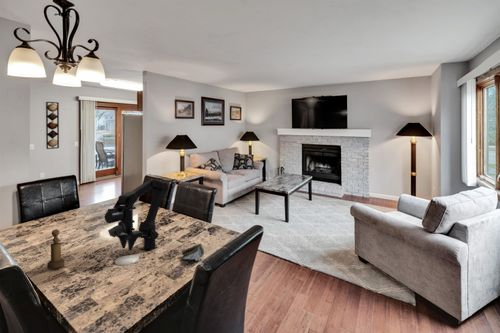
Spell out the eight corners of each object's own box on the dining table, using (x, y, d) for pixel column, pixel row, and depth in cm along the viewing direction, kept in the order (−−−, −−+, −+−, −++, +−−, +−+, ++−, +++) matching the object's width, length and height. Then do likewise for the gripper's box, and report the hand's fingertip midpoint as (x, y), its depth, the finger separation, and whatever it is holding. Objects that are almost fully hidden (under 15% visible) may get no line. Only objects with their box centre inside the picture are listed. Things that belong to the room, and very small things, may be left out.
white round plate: (110, 262, 126) (110, 260, 126) (131, 255, 135) (131, 253, 135) (122, 267, 120) (122, 264, 120) (143, 259, 129) (143, 257, 129)
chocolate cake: (176, 261, 126) (193, 246, 124) (180, 252, 133) (195, 238, 131) (190, 272, 128) (207, 258, 126) (193, 263, 135) (208, 250, 133)
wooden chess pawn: (67, 263, 125) (67, 227, 125) (58, 268, 118) (57, 231, 118) (54, 263, 125) (53, 228, 124) (43, 269, 118) (43, 231, 118)
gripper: (101, 219, 126) (101, 250, 126) (121, 224, 116) (121, 258, 116) (122, 215, 135) (122, 244, 136) (142, 220, 125) (143, 251, 125)
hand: (126, 249), depth 128 cm, fingers open, 6 cm apart
